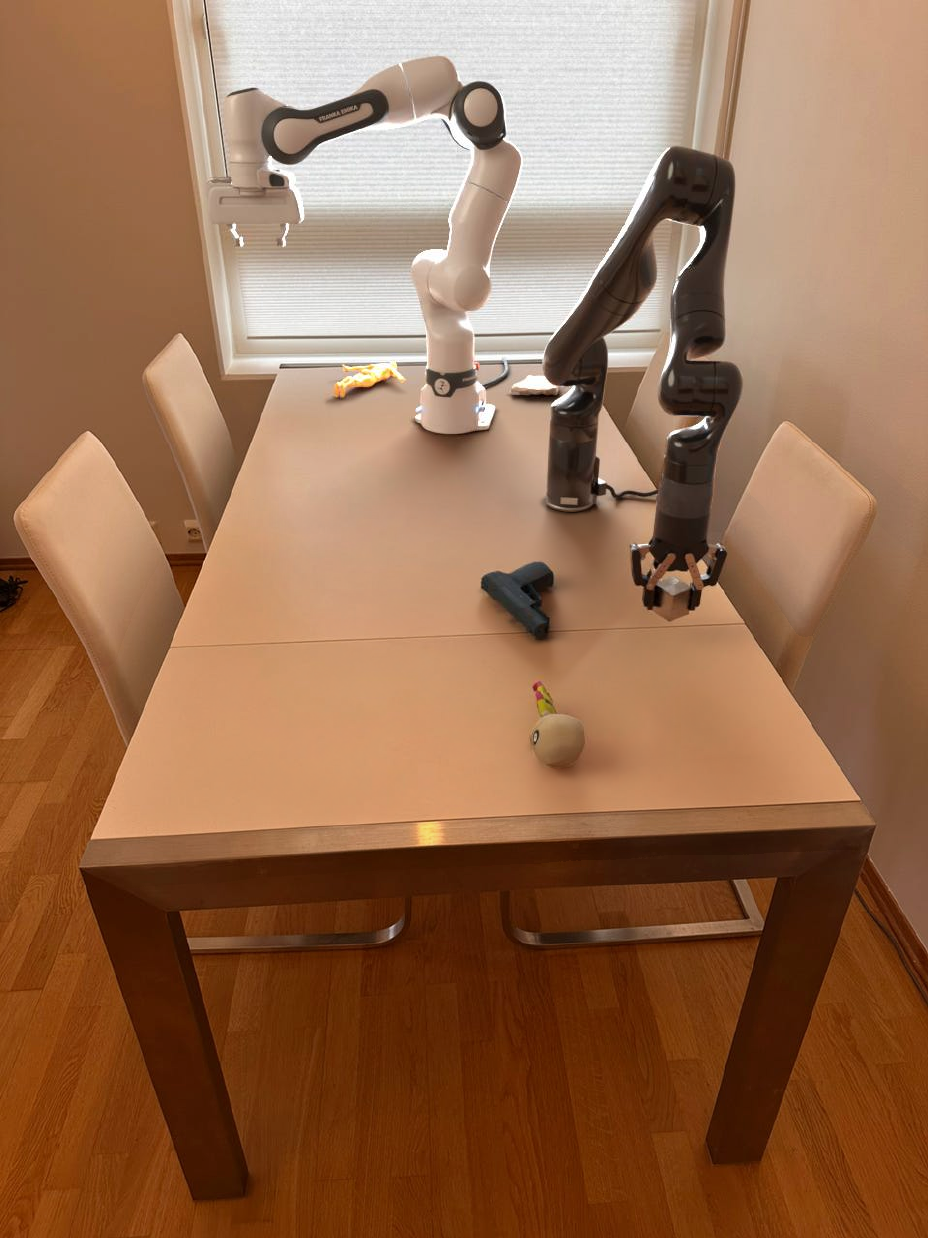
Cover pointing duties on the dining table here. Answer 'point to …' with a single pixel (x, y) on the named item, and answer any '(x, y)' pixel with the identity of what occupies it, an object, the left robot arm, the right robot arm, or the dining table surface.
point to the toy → (555, 733)
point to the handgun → (522, 594)
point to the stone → (534, 386)
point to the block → (672, 598)
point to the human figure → (367, 376)
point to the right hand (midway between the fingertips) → (670, 607)
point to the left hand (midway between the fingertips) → (260, 245)
